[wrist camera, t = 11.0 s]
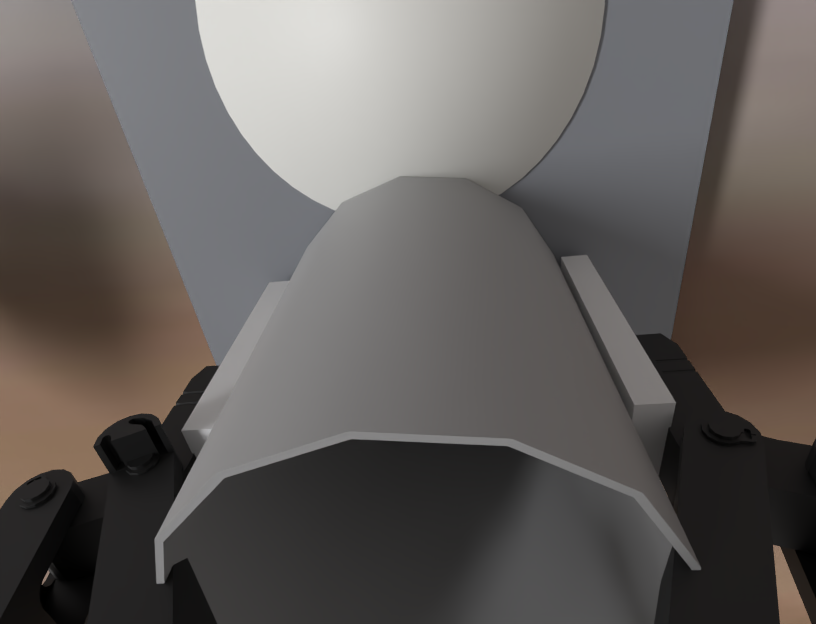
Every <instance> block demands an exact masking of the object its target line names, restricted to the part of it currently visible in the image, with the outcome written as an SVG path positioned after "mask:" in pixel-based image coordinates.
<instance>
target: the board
mask: <svg viewBox="0 0 816 624" xmlns="http://www.w3.org/2000/svg"><path fill="white" fill-rule="evenodd" d="M71 1H72V4H73V6H74V9H75V11H76V14H77V16H78V19H79V21H80V24H81V26H82V29H83V31H84V34H85V37H86V39H87V42H88V44H89V47H90V49H91V52H92V54H93V57H94V59H95V62H96V64H97V67H98V69H99V72H100V74H101V77H102V79H103V82H104V84H105V87H106V89H107V92H108V94H109V97H110V99H111V102H112V104H113V107H114V109H115V112H116V114H117V117H118V119H119V122H120V124H121V127H122V129H123V132H124V134H125V137H126V139H127V142H128V144H129V147H130V149H131V152H132V154H133V157H134V159H135V162H136V164H137V167H138V169H139V172H140V175H141V177H142V180H143V182H144V185H145V187H146V190H147V192H148V195H149V197H150V200H151V202H152V205H153V207H154V210H155V212H156V215H157V217H158V220H159V222H160V225H161V227H162V230H163V232H164V235H165V237H166V240H167V242H168V245H169V247H170V250H171V252H172V255H173V257H174V260H175V262H176V265H177V267H178V270H179V272H180V275H181V277H182V280H183V282H184V285H185V287H186V290H187V292H188V295H189V297H190V300H191V302H192V305H193V307H194V310H195V312H196V315H197V318H198V320H199V323H200V325H201V328H202V330H203V333H204V335H205V338H206V340H207V343H208V345H209V348H210V350H211V353H212V355H213V358H214V360H215V363H216V365H217V366H220V364H221V363H222V361H223V359H224V358H225V356H226V354H227V353H228V351H229V349H230V348H231V346H232V344H233V343H234V341H235V339H236V338H237V336H238V334H239V332H240V331H241V329H242V327H243V326H244V324H245V322H246V321H247V319H248V317H249V316H250V314H251V312H252V311H253V309H254V307H255V306H256V304H257V302H258V300H259V299H260V297H261V295H262V294H263V292H264V290H265V289H266V287H267V285H268V284H269V282H279V281H290V279H291V277H292V275H293V273H294V271H295V269H296V268H297V266H298V264H299V262H300V260H301V258H302V256H303V254H304V252H305V250H306V248H307V246H308V245H309V244H310V243H311V241H312V240H313V239H314V238H315V236H316V235H317V234H318V232H319V231H320V230H321V229H322V227H323V226H324V225H325V224H326V222H327V221H328V220H329V219H330V217H331V216H332V215H333V213H334V212H335V211H336V210H337V208H338V207H339V206H340V205H341V203H342V202H344V201H346V200H348V199H350V198H353V197H355V196H357V195H359V194H362V193H364V192H366V191H368V190H370V189H373V188H375V187H377V186H379V185H382V184H384V183H386V182H388V181H391V180H393V179H395V178H397V177H399V176H406V177H440V178H466V179H468V180H470V181H472V182H474V183H476V184H478V185H480V186H482V187H483V188H485V189H487V190H489V191H491V192H493V193H495V194H497V195H499V196H501V197H503V198H504V199H506V200H508V201H510V202H512V203H514V204H516V205H518V206H520V207H522V209H523V210H524V212H525V213H526V215H527V216H528V218H529V219H530V220H531V222H532V223H533V225H534V226H535V228H536V229H537V231H538V232H539V234H540V235H541V237H542V238H543V240H544V241H545V243H546V244H547V246H548V247H549V249H550V250H551V252H552V253H553V254H554V256H555V259H556V261H557V263H558V265H559V267H560V269H561V257H566V256H578V255H587V256H588V257H589V259H590V261H591V262H592V264H593V266H594V267H595V269H596V271H597V272H598V274H599V276H600V277H601V279H602V281H603V282H604V284H605V286H606V287H607V289H608V291H609V292H610V294H611V296H612V297H613V299H614V301H615V302H616V304H617V306H618V307H619V309H620V311H621V312H622V314H623V316H624V317H625V319H626V321H627V322H628V324H629V325H630V327H631V329H632V330H633V332H634V334H635V335H643V334H657V333H661V334H663V335H664V336H666V337H667V338H669V339H670V340H671V336H672V331H673V325H674V320H675V314H676V309H677V304H678V298H679V293H680V287H681V282H682V277H683V271H684V266H685V260H686V255H687V249H688V244H689V239H690V233H691V228H692V222H693V217H694V212H695V206H696V201H697V195H698V190H699V184H700V179H701V174H702V168H703V163H704V157H705V152H706V147H707V141H708V136H709V130H710V125H711V120H712V114H713V109H714V103H715V98H716V92H717V87H718V82H719V76H720V71H721V65H722V60H723V55H724V49H725V44H726V38H727V33H728V27H729V22H730V17H731V11H732V6H733V0H71Z"/></svg>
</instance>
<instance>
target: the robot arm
mask: <svg viewBox="0 0 816 624" xmlns="http://www.w3.org/2000/svg"><path fill="white" fill-rule="evenodd" d="M561 271H562V273H563V276H564V278H565V280H566V282H567V284H568V286H569V288H570V290H571V293H572V295H573V297H574V299H575V301H576V303H577V305H578V307H579V309H580V312H581V314H582V316H583V318H584V320H585V322H586V324H587V326H588V329H589V331H590V333H591V335H592V337H593V339H594V341H595V343H596V346H597V348H598V350H599V352H600V354H601V356H602V358H603V360H604V362H605V365H606V367H607V369H608V371H609V373H610V375H611V377H612V379H613V382H614V384H615V386H616V388H617V390H618V392H619V394H620V396H621V399H622V401H623V403H624V405H625V407H626V409H627V411H628V413H629V416H630V418H631V420H632V422H633V424H634V426H635V428H636V430H637V432H638V435H639V437H640V439H641V441H642V443H643V445H644V447H645V449H646V452H647V454H648V456H649V458H650V460H651V462H652V464H653V466H654V469H655V471H656V473H657V475H658V477H659V479H660V480H661V482H662V485H663V487H664V489H665V491H666V493H667V495H668V498H669V500H670V502H671V505H672V507H673V509H674V511H675V513H676V515H677V517H678V519H679V522H680V524H681V526H682V528H683V530H684V532H685V534H686V536H687V539H688V541H689V543H690V545H691V547H692V549H693V551H694V553H695V556H696V558H697V560H698V562H699V564H700V566H701V570H691V568H690V567H689V566H688V564H687V563H686V562H685V561H684V559H683V558H682V557H681V556H680V554H679V553H678V552H677V551H676V549H675V548H674V547H673V546H672V548H671V552H670V555H669V558H668V561H667V564H666V567H665V570H664V573H663V576H662V579H661V583H660V589H659V595H658V601H657V608H656V614H655V620H654V624H780V620H779V609H778V598H777V586H776V575H775V563H774V552H773V545H777V546H780V547H781V549H782V552H783V554H784V557H785V559H786V562H787V564H788V567H789V569H790V571H791V574H792V576H793V579H794V581H795V584H796V586H797V589H798V591H799V594H800V596H801V598H802V601H803V603H804V606H805V608H806V611H807V613H808V616H809V618H810V621H811V623H812V624H816V439H815V441H814V443H813V445H812V446H811V445H805V444H799V443H793V442H787V441H781V440H776V439H772V438H767V437H764V436H761V434H760V432H759V431H758V430H757V429H756V428H755V427H754V426H753V425H752V424H751V423H750V422H748V421H747V420H745V419H743V418H741V417H740V416H738V415H735V414H732V413H729V412H725V411H724V409H723V408H722V406H721V405H720V404H719V402H718V401H717V399H716V398H715V396H714V395H713V394H712V392H711V391H710V389H709V388H708V387H707V385H706V384H705V382H704V381H703V380H702V378H701V377H700V375H699V374H698V373H697V372H695V368H694V367H693V365H692V364H691V363H690V361H688V360H687V357H686V356H685V354H684V353H683V351H682V350H681V349H680V347H679V346H678V344H676V343H675V342H673V341H672V340H670V339H669V338H667V337H666V336H664V335H663V334H661V333H657V334H643V335H635V334H634V332H633V330H632V329H631V327H630V325H629V324H628V322H627V321H626V319H625V317H624V316H623V314H622V312H621V311H620V309H619V307H618V306H617V304H616V302H615V301H614V299H613V297H612V296H611V294H610V292H609V291H608V289H607V287H606V286H605V284H604V282H603V281H602V279H601V277H600V276H599V274H598V272H597V271H596V269H595V267H594V266H593V264H592V262H591V261H590V259H589V257H588V256H587V255H578V256H566V257H561ZM288 283H289V281H279V282H269V284H268V285H267V287H266V289H265V290H264V292H263V294H262V295H261V297H260V299H259V300H258V302H257V304H256V306H255V307H254V309H253V311H252V312H251V314H250V316H249V317H248V319H247V321H246V322H245V324H244V326H243V327H242V329H241V331H240V332H239V334H238V336H237V338H236V339H235V341H234V343H233V344H232V346H231V348H230V349H229V351H228V353H227V354H226V356H225V358H224V359H223V361H222V363H221V364H220V366H206V367H205V368H204V369H203V370H202V371H200V372H199V373H198V374H197V375H196V376H194V377H193V378H192V379H191V381H190V382H189V384H188V385H187V387H186V388H185V390H184V391H183V395H181V396H180V398H179V399H178V401H177V402H176V406H174V407H173V408H172V410H171V411H170V413H169V415H168V416H167V418H166V419H165V421H164V422H163V424H161V422H160V420H159V418H157V417H156V416H154V415H152V414H138V415H133V416H129V417H127V418H124V419H122V420H120V421H117V422H116V423H114V424H113V425H111V426H110V427H108V428H107V429H106V430H105V431H104V432H103V433H102V434H101V435H100V436H99V437H98V438H97V440H96V442H95V444H94V446H93V447H94V449H95V450H96V452H97V454H98V455H99V457H100V458H101V460H102V461H103V463H104V465H105V466H106V468H107V469H108V471H109V473H108V474H104V475H101V476H98V477H94V478H91V479H88V480H84V481H81V482H77V481H76V479H75V478H74V476H73V475H72V474H71V472H68V471H66V470H64V469H63V470H51V471H48V472H45V473H42V474H39V475H37V476H35V477H34V478H31V479H30V480H28V481H26V482H25V483H24V484H22V485H21V486H20V487H19V488H17V489H16V490H15V491H14V492H13V493H12V494H11V495H10V497H9V498H8V499H7V500H6V501H5V503H4V504H3V506H2V508H1V509H0V624H217V622H216V620H215V617H214V615H213V613H212V611H211V608H210V606H209V604H208V602H207V600H206V597H205V595H204V593H203V591H202V589H201V586H200V584H199V582H198V580H197V578H196V575H195V573H194V571H193V569H192V567H191V564H190V562H189V560H188V558H186V559H184V560H182V561H180V562H178V563H176V564H174V565H173V566H172V568H171V571H170V573H169V575H168V577H167V579H166V581H165V583H161V584H156V562H155V540H154V539H155V537H156V535H157V533H158V532H159V530H160V528H161V526H162V524H163V522H164V520H165V518H166V516H167V514H168V512H169V510H170V509H171V507H172V505H173V503H174V501H175V499H176V497H177V495H178V493H179V491H180V489H181V488H182V486H183V484H184V482H185V480H186V478H187V476H188V474H189V472H190V470H191V468H192V466H193V465H194V463H195V461H196V459H197V457H198V455H199V453H200V451H201V449H202V447H203V445H204V444H205V442H206V440H207V438H208V436H209V434H210V432H211V430H212V428H213V426H214V424H215V422H216V421H217V419H218V417H219V415H220V413H221V411H222V409H223V407H224V405H225V403H226V401H227V400H228V398H229V396H230V394H231V392H232V390H233V388H234V386H235V384H236V382H237V380H238V378H239V377H240V375H241V373H242V371H243V369H244V367H245V365H246V363H247V361H248V359H249V357H250V356H251V354H252V352H253V350H254V348H255V346H256V344H257V342H258V340H259V338H260V336H261V334H262V333H263V331H264V329H265V327H266V325H267V323H268V321H269V319H270V317H271V315H272V313H273V312H274V310H275V308H276V306H277V304H278V302H279V300H280V298H281V296H282V294H283V292H284V290H285V289H286V287H287V285H288ZM48 570H49V572H50V573H49V575H48V577H47V579H46V581H45V582H44V584H43V585H42V581H43V579H44V577H45V575H46V573H47V571H48Z"/></svg>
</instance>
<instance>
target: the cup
mask: <svg viewBox="0 0 816 624" xmlns="http://www.w3.org/2000/svg"><path fill="white" fill-rule="evenodd" d="M154 540H155V562H156V584H161V583H165V581H166V579H167V577H168V575H169V573H170V571H171V568H172V566H173V565H174V564H176V563H178V562H180V561H182V560H184V559H186V558H188V560H189V562H190V564H191V567H192V569H193V571H194V573H195V575H196V578H197V580H198V582H199V584H200V586H201V589H202V591H203V593H204V595H205V597H206V600H207V602H208V604H209V606H210V608H211V611H212V613H213V615H214V617H215V620H216V622H217V624H654V620H655V614H656V608H657V601H658V595H659V589H660V583H661V579H662V576H663V573H664V570H665V567H666V564H667V561H668V558H669V555H670V552H671V548H672V546H673V547H674V548H675V549H676V551H677V552H678V553H679V554H680V556H681V557H682V558H683V559H684V561H685V562H686V563H687V564H688V566H689V567H690V568H691V570H701V566H700V564H699V562H698V560H697V558H696V556H695V553H694V551H693V549H692V547H691V545H690V543H689V541H688V539H687V536H686V534H685V532H684V530H683V528H682V526H681V524H680V522H679V519H678V517H677V515H676V513H675V511H674V509H673V507H672V505H671V502H670V500H669V498H668V496H667V494H666V492H665V490H664V488H663V486H662V483H661V481H660V479H659V477H658V475H657V473H656V471H655V469H654V466H653V464H652V462H651V460H650V458H649V456H648V454H647V452H646V449H645V447H644V445H643V443H642V441H641V439H640V437H639V435H638V432H637V430H636V428H635V426H634V424H633V422H632V420H631V418H630V416H629V413H628V411H627V409H626V407H625V405H624V403H623V401H622V399H621V396H620V394H619V392H618V390H617V388H616V386H615V384H614V382H613V379H612V377H611V375H610V373H609V371H608V369H607V367H606V365H605V362H604V360H603V358H602V356H601V354H600V352H599V350H598V348H597V346H596V343H595V341H594V339H593V337H592V335H591V333H590V331H589V329H588V326H587V324H586V322H585V320H584V318H583V316H582V314H581V312H580V309H579V307H578V305H577V303H576V301H575V299H574V297H573V295H572V293H571V290H570V288H569V286H568V284H567V282H566V280H565V278H564V276H563V273H562V271H561V269H560V267H559V265H558V263H557V261H556V259H555V256H554V254H553V253H552V252H551V250H550V249H549V247H548V246H547V244H546V243H545V241H544V240H543V238H542V237H541V235H540V234H539V232H538V231H537V229H536V228H535V226H534V225H533V223H532V222H531V220H530V219H529V218H528V216H527V215H526V213H525V212H524V210H523V209H522V207H520V206H518V205H516V204H514V203H512V202H510V201H508V200H506V199H504V198H503V197H501V196H499V195H497V194H495V193H493V192H491V191H489V190H487V189H485V188H483V187H482V186H480V185H478V184H476V183H474V182H472V181H470V180H468V179H466V178H440V177H406V176H399V177H397V178H395V179H393V180H391V181H388V182H386V183H384V184H382V185H379V186H377V187H375V188H373V189H370V190H368V191H366V192H364V193H362V194H359V195H357V196H355V197H353V198H350V199H348V200H346V201H344V202H342V203H341V205H340V206H339V207H338V208H337V210H336V211H335V212H334V213H333V215H332V216H331V217H330V219H329V220H328V221H327V222H326V224H325V225H324V226H323V227H322V229H321V230H320V231H319V232H318V234H317V235H316V236H315V238H314V239H313V240H312V241H311V243H310V244H309V245H308V246H307V248H306V250H305V252H304V254H303V256H302V258H301V260H300V262H299V264H298V266H297V268H296V269H295V271H294V273H293V275H292V277H291V279H290V281H289V283H288V285H287V287H286V289H285V290H284V292H283V294H282V296H281V298H280V300H279V302H278V304H277V306H276V308H275V310H274V312H273V313H272V315H271V317H270V319H269V321H268V323H267V325H266V327H265V329H264V331H263V333H262V334H261V336H260V338H259V340H258V342H257V344H256V346H255V348H254V350H253V352H252V354H251V356H250V357H249V359H248V361H247V363H246V365H245V367H244V369H243V371H242V373H241V375H240V377H239V378H238V380H237V382H236V384H235V386H234V388H233V390H232V392H231V394H230V396H229V398H228V400H227V401H226V403H225V405H224V407H223V409H222V411H221V413H220V415H219V417H218V419H217V421H216V422H215V424H214V426H213V428H212V430H211V432H210V434H209V436H208V438H207V440H206V442H205V444H204V445H203V447H202V449H201V451H200V453H199V455H198V457H197V459H196V461H195V463H194V465H193V466H192V468H191V470H190V472H189V474H188V476H187V478H186V480H185V482H184V484H183V486H182V488H181V489H180V491H179V493H178V495H177V497H176V499H175V501H174V503H173V505H172V507H171V509H170V510H169V512H168V514H167V516H166V518H165V520H164V522H163V524H162V526H161V528H160V530H159V532H158V533H157V535H156V537H155V539H154Z"/></svg>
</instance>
